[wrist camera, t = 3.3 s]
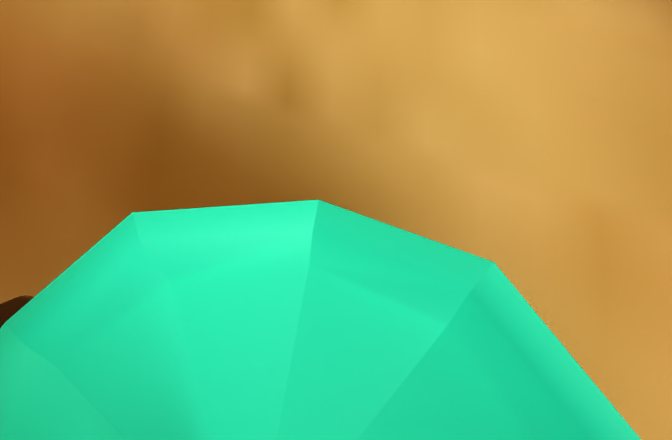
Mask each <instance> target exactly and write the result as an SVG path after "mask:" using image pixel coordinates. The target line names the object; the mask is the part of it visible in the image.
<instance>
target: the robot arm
mask: <svg viewBox="0 0 672 440" xmlns="http://www.w3.org/2000/svg"><path fill="white" fill-rule="evenodd" d="M33 298H34V297H32V296H20V297H17V298H14V299H12V300H9V301H7V302H4V303H2V304H0V328H1V327H2V326H3V324H4V323H5V322H6V321H7V320H9V319H10V318H11V317H12V316H13V315H14V314H15V313H17V312H18V311H19V310H20V309H21V308H22V307H24V306H25V305H26V304H27V303H28V302H29V301H30V300H32V299H33Z"/></svg>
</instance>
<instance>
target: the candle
mask: <svg viewBox="0 0 672 440" xmlns="http://www.w3.org/2000/svg"><path fill="white" fill-rule="evenodd" d="M0 440H641V439H640V438H639V437H638V435H637V434H636V433H635V432H634V431H633V429H632V428H631V427H630V426H629V425H628V423H627V422H626V421H625V420H624V418H623V417H622V416H621V415H620V414H619V412H618V411H617V410H616V409H615V408H614V406H613V405H612V404H611V403H610V402H609V400H608V399H607V398H606V397H605V396H604V394H603V393H602V392H601V391H600V390H599V388H598V387H597V386H596V385H595V384H594V382H593V381H592V380H591V379H590V377H589V376H588V375H587V374H586V373H585V371H584V370H583V369H582V368H581V367H580V365H579V364H578V363H577V362H576V361H575V359H574V358H573V357H572V356H571V355H570V353H569V352H568V351H567V350H566V349H565V347H564V346H563V345H562V344H561V342H560V341H559V340H558V339H557V338H556V336H555V335H554V334H553V333H552V332H551V330H550V329H549V328H548V327H547V326H546V324H545V323H544V322H543V321H542V320H541V318H540V317H539V316H538V315H537V314H536V312H535V311H534V310H533V309H532V308H531V306H530V305H529V304H528V303H527V301H526V300H525V299H524V298H523V297H522V295H521V294H520V293H519V292H518V291H517V289H516V288H515V287H514V286H513V285H512V283H511V282H510V281H509V280H508V279H507V277H506V276H505V275H504V274H503V273H502V271H501V270H500V269H499V268H498V267H497V265H496V264H495V263H494V262H492V261H489V260H487V259H484V258H481V257H478V256H475V255H473V254H470V253H467V252H464V251H461V250H459V249H456V248H453V247H450V246H447V245H445V244H442V243H439V242H436V241H433V240H430V239H428V238H425V237H422V236H419V235H416V234H414V233H411V232H408V231H405V230H402V229H400V228H397V227H394V226H391V225H388V224H386V223H383V222H380V221H377V220H374V219H371V218H369V217H366V216H363V215H360V214H357V213H355V212H352V211H349V210H346V209H343V208H341V207H338V206H335V205H332V204H329V203H327V202H324V201H321V200H307V201H292V202H277V203H263V204H248V205H234V206H219V207H204V208H190V209H175V210H161V211H146V212H132V213H131V214H130V215H129V216H127V217H126V218H125V219H124V220H123V221H122V222H121V223H119V224H118V225H117V226H116V227H115V228H114V229H112V230H111V231H110V232H109V233H108V234H107V235H106V236H104V237H103V238H102V239H101V240H100V241H99V242H97V243H96V244H95V245H94V246H93V247H92V248H90V249H89V250H88V251H87V252H86V253H85V254H84V255H82V256H81V257H80V258H79V259H78V260H77V261H75V262H74V263H73V264H72V265H71V266H70V267H69V268H67V269H66V270H65V271H64V272H63V273H62V274H60V275H59V276H58V277H57V278H56V279H55V280H54V281H52V282H51V283H50V284H49V285H48V286H47V287H45V288H44V289H43V290H42V291H41V292H40V293H39V294H37V295H36V296H35V297H34V298H33V299H32V300H30V301H29V302H28V303H27V304H26V305H25V306H24V307H22V308H21V309H20V310H19V311H18V312H17V313H15V314H14V315H13V316H12V317H11V318H10V319H9V320H7V321H6V322H5V323H4V324H3V326H2V327H1V328H0Z"/></svg>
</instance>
